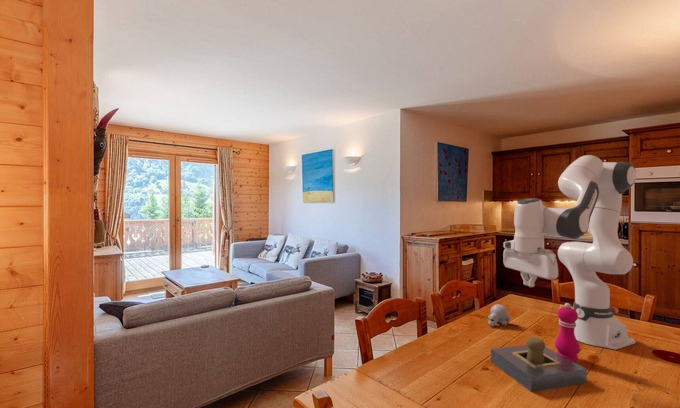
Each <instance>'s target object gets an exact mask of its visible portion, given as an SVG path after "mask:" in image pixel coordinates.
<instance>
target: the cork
mask: <svg viewBox="0 0 680 408" xmlns="http://www.w3.org/2000/svg"><path fill="white" fill-rule="evenodd" d="M526 345H527V346H528V353H527V360H528V361H530V362H531V363H533V364H535V365H538V364H545V362H544V355H543V350H544V348H545V347H546V344H545V341H543V339H541V338H540V337H534V336H533V337H532V336H531V337H528V338H527V339H526Z"/></svg>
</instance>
